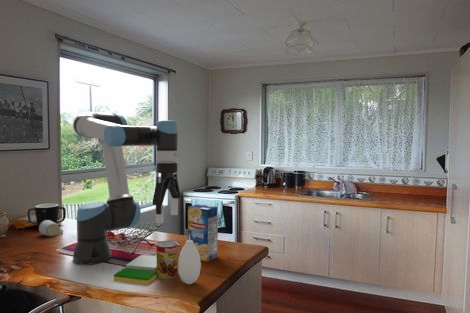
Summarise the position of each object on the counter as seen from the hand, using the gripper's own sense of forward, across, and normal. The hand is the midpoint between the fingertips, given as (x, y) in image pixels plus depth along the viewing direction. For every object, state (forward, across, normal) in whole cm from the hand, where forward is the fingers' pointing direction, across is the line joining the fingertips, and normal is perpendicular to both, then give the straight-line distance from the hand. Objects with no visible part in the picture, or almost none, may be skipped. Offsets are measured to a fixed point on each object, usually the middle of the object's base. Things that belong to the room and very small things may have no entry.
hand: (167, 218), depth 133 cm
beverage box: (+22, +22, -7) cm, 32 cm away
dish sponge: (+22, -6, +10) cm, 25 cm away
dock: (+21, +4, +10) cm, 24 cm away
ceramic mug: (+21, +37, +81) cm, 91 cm away
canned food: (+22, 0, 0) cm, 22 cm away
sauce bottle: (+22, -6, -11) cm, 25 cm away
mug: (+21, +52, +97) cm, 112 cm away
